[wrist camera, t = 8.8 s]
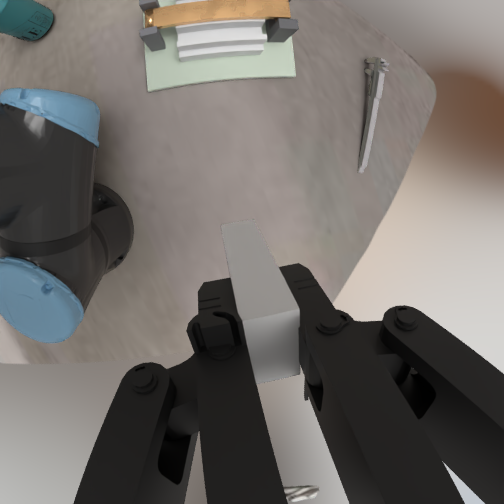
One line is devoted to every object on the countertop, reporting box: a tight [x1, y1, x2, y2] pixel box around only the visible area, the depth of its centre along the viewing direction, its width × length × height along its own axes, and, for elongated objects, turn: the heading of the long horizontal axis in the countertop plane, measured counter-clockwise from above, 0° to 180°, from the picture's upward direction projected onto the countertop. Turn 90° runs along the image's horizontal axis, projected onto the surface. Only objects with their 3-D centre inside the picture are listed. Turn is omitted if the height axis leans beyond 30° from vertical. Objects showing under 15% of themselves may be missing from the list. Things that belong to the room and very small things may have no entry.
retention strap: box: [145, 0, 291, 29], centre depth 25 cm, size 18×3×4 cm, turn 95°
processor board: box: [139, 0, 299, 92], centre depth 26 cm, size 21×18×10 cm
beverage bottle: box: [0, 0, 53, 41], centre depth 14 cm, size 6×7×20 cm
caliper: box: [358, 57, 390, 173], centre depth 37 cm, size 20×1×6 cm, turn 178°
